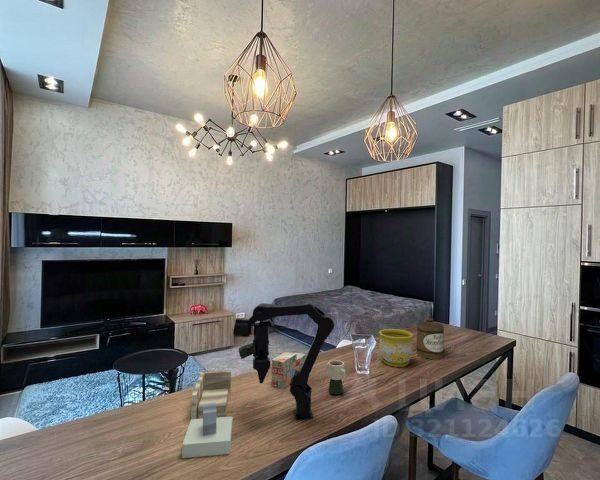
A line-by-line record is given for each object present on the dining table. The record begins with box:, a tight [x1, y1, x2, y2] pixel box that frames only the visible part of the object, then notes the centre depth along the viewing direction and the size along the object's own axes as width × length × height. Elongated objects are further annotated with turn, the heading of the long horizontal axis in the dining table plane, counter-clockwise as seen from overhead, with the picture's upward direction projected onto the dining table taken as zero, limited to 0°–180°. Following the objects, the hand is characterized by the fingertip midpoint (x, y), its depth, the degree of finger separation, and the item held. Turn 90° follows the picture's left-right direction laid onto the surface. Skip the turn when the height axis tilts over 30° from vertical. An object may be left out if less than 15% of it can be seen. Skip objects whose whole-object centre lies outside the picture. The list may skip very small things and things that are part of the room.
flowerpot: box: [378, 328, 414, 368], centre depth 174 cm, size 18×18×16 cm
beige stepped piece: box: [190, 369, 232, 420], centre depth 127 cm, size 22×13×9 cm, turn 9°
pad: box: [181, 416, 234, 459], centre depth 103 cm, size 14×14×4 cm
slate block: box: [202, 403, 217, 436], centre depth 103 cm, size 6×4×7 cm, turn 18°
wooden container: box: [416, 317, 445, 360], centre depth 187 cm, size 15×15×22 cm
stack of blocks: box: [271, 351, 306, 390], centre depth 152 cm, size 21×6×12 cm, turn 150°
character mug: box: [326, 359, 346, 395], centre depth 138 cm, size 11×7×13 cm, turn 38°
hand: (260, 378), depth 122 cm, fingers open, 9 cm apart
